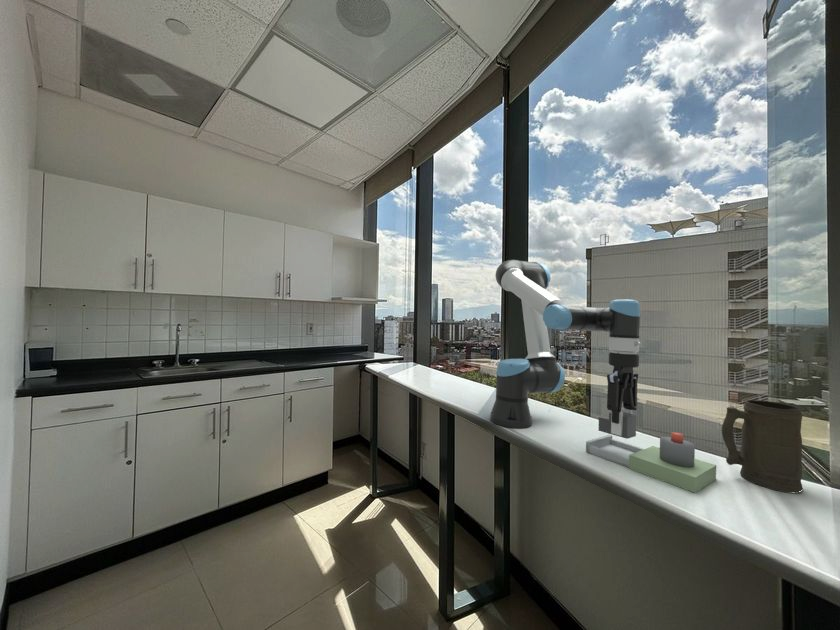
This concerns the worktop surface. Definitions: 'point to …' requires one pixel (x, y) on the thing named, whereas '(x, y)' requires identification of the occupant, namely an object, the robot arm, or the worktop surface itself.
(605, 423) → the squat charcoal block
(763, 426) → the beer stein
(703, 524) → the worktop surface
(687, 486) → the green slab with knob
